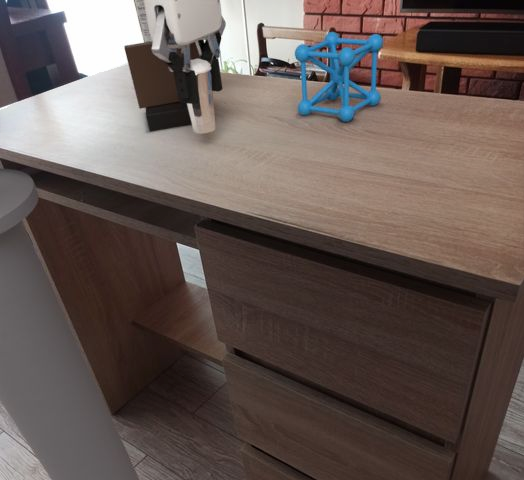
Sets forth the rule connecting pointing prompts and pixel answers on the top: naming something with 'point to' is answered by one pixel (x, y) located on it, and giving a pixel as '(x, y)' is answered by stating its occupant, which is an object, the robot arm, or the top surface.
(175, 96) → the frame
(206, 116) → the milkshake
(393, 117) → the top surface
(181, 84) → the robot arm
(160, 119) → the frame stand
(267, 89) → the top surface
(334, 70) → the molecular structure
